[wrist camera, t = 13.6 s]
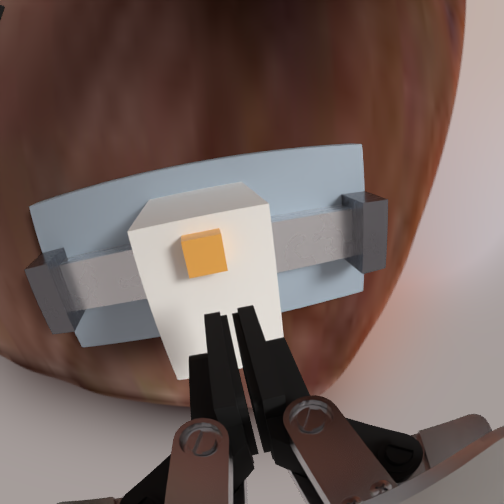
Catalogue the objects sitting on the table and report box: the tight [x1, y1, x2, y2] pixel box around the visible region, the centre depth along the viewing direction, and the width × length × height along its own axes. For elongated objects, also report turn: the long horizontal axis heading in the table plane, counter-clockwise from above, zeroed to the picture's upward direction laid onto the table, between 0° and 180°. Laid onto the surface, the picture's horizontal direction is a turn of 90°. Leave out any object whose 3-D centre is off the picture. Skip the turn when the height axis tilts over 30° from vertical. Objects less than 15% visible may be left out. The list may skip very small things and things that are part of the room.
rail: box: [25, 191, 388, 334], centre depth 19 cm, size 24×5×3 cm, turn 98°
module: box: [127, 182, 283, 380], centre depth 16 cm, size 6×8×8 cm
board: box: [29, 144, 364, 347], centre depth 21 cm, size 24×12×2 cm, turn 98°
